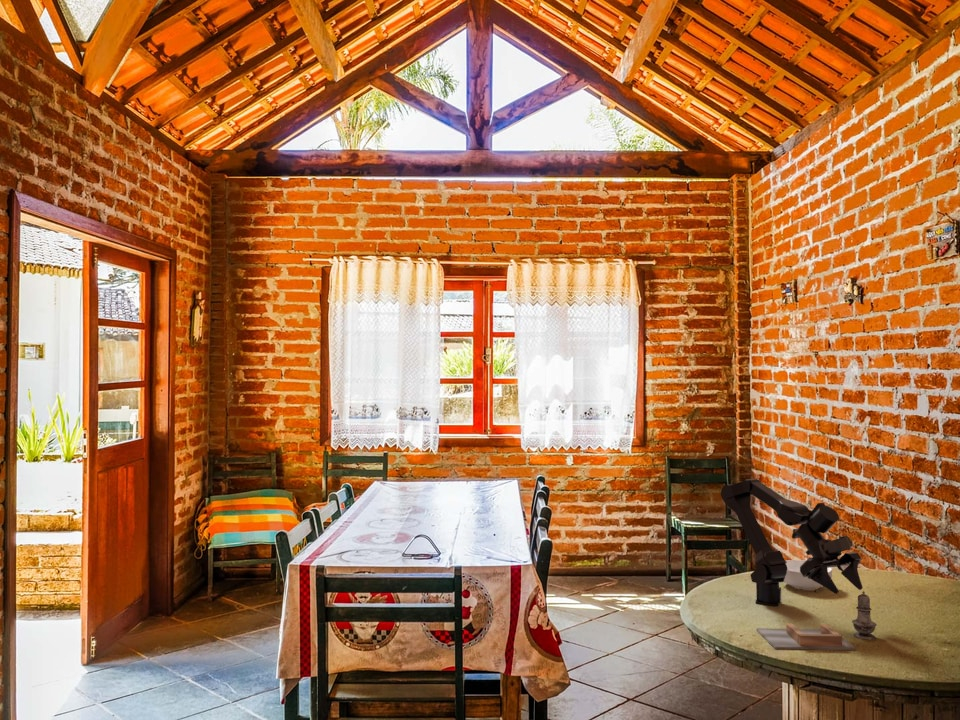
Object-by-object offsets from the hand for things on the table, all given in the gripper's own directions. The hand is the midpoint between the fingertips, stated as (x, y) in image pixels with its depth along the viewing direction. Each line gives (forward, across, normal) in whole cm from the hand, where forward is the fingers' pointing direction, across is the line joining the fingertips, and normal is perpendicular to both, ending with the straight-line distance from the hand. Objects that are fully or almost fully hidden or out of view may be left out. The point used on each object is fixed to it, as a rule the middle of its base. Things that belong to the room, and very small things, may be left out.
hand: (849, 591), depth 201 cm
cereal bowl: (-19, +24, +34) cm, 46 cm away
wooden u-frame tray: (+7, -17, +8) cm, 20 cm away
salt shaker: (+11, 0, +5) cm, 12 cm away
